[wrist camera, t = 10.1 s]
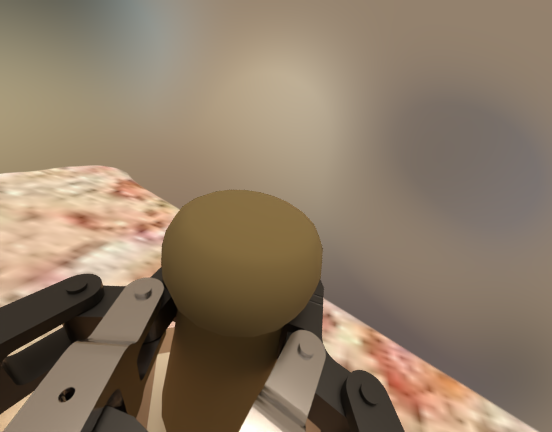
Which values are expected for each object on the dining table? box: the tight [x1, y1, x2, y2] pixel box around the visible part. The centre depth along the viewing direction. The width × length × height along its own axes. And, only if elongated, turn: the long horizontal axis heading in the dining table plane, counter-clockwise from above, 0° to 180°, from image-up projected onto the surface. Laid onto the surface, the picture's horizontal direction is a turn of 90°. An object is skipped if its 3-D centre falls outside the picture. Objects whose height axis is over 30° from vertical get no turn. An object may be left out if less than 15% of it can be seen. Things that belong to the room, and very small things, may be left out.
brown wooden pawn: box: [161, 190, 323, 432], centre depth 9 cm, size 6×6×11 cm
